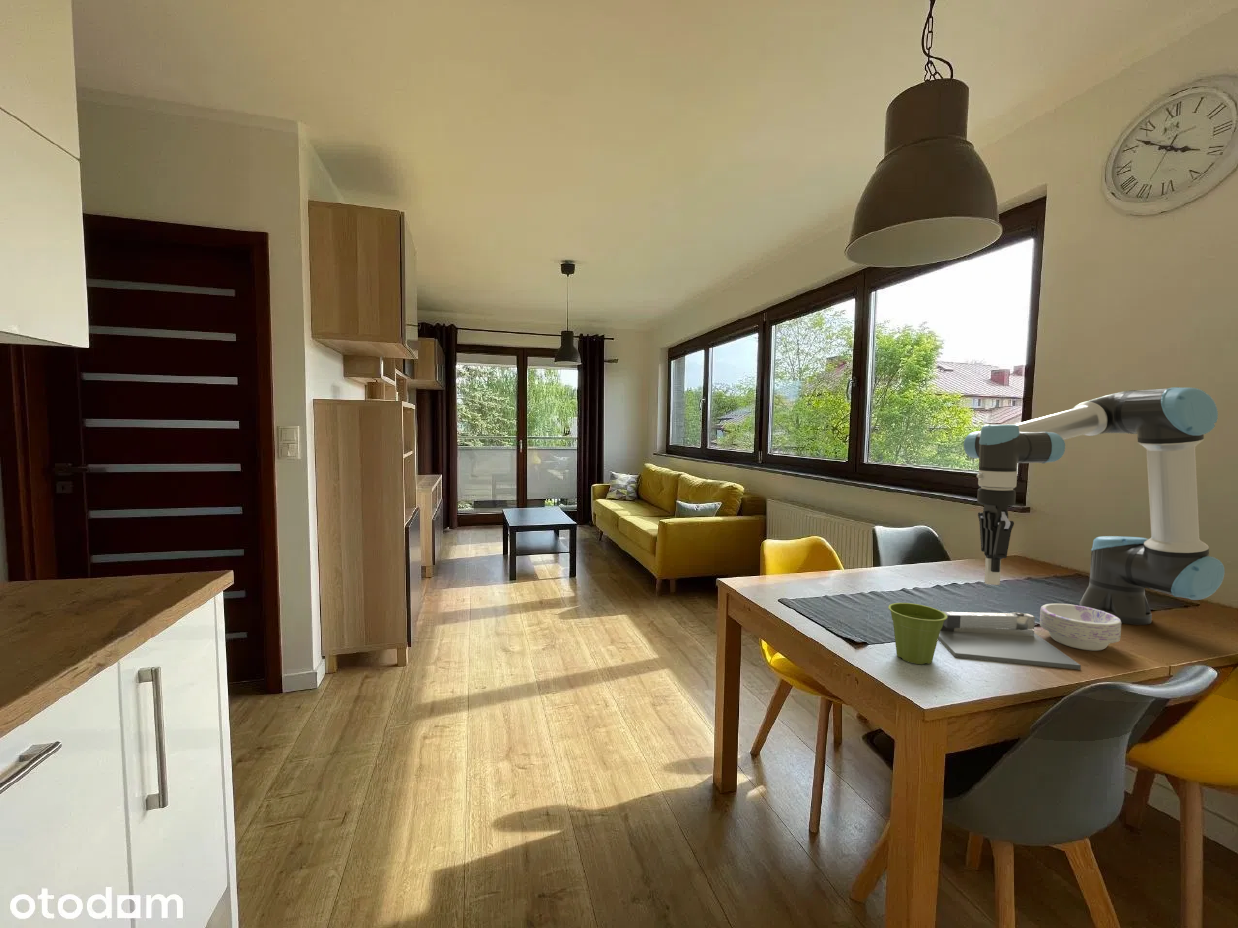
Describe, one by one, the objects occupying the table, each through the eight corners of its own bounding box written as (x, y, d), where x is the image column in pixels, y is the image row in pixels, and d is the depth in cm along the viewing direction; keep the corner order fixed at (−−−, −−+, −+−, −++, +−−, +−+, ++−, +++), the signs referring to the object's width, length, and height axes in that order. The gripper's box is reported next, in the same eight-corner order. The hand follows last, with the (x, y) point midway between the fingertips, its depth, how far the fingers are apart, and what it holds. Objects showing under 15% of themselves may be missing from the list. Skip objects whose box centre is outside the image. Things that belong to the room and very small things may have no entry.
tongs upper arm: (1025, 624, 136) (1026, 611, 135) (1036, 630, 132) (1037, 616, 132) (939, 622, 136) (940, 609, 136) (947, 628, 132) (948, 614, 132)
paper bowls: (1024, 636, 135) (1027, 606, 135) (1060, 628, 141) (1063, 599, 140) (1096, 660, 121) (1099, 627, 121) (1133, 651, 127) (1136, 619, 126)
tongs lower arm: (1027, 632, 135) (1028, 626, 135) (1034, 637, 132) (1035, 630, 132) (935, 626, 138) (935, 620, 138) (940, 630, 135) (940, 624, 135)
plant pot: (954, 672, 114) (957, 622, 114) (895, 667, 117) (898, 617, 116) (931, 649, 126) (934, 604, 125) (879, 645, 128) (881, 600, 127)
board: (1029, 633, 137) (1030, 629, 137) (1080, 669, 117) (1080, 665, 116) (924, 624, 143) (924, 620, 142) (955, 657, 122) (955, 652, 122)
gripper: (967, 484, 134) (963, 575, 136) (991, 491, 121) (986, 590, 123) (1001, 485, 132) (996, 576, 134) (1028, 491, 119) (1023, 593, 121)
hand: (992, 583), depth 128 cm, fingers closed
